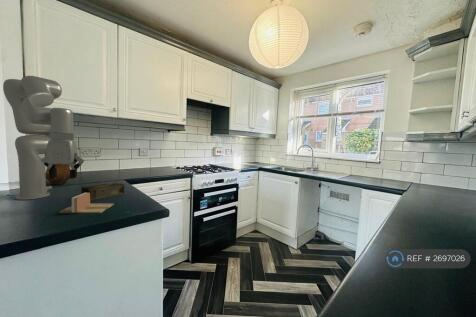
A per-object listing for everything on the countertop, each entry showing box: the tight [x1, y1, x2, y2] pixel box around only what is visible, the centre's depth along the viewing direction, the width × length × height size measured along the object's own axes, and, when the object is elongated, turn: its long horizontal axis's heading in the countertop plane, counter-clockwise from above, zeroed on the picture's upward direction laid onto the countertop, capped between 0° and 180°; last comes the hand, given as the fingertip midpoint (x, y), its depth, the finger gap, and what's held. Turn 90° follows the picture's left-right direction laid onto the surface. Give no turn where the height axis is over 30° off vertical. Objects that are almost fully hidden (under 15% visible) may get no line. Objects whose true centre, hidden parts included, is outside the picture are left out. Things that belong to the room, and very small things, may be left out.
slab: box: [71, 193, 91, 212], centre depth 88 cm, size 9×2×6 cm, turn 7°
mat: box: [58, 202, 115, 214], centre depth 90 cm, size 12×16×1 cm
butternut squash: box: [44, 154, 72, 185], centre depth 133 cm, size 14×13×25 cm
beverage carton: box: [80, 181, 125, 202], centre depth 111 cm, size 8×19×7 cm, turn 151°
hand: (63, 177), depth 88 cm, fingers open, 7 cm apart
